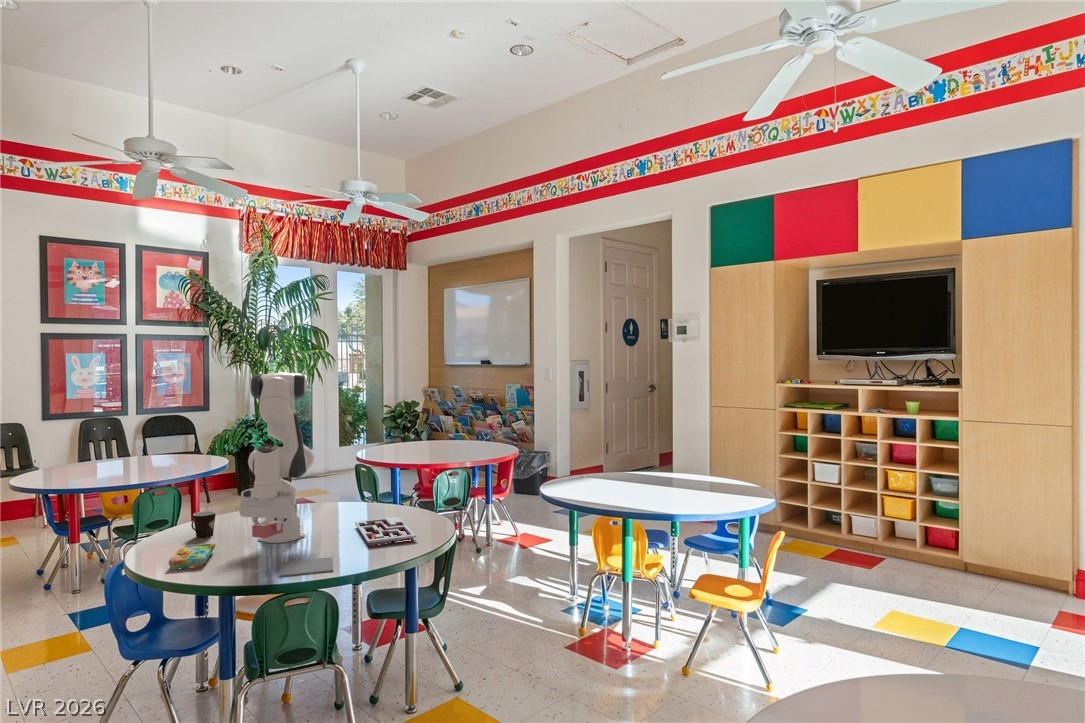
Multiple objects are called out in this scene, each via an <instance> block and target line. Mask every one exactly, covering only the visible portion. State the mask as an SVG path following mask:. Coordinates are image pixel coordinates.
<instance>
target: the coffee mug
mask: <svg viewBox="0 0 1085 723" xmlns="http://www.w3.org/2000/svg"><path fill="white" fill-rule="evenodd" d="M216 514H217V513H216V511H214V510H203V511H199V512H195V513H193V514H192V515H193V520H192V521H191V525H190V526H191V528H192V530H193V531H195V538H196V537H197V538H196V539H199V538H203V539H208V538H207V537H209V538H212V537H214V532H215V531H214V529H215V522H216ZM211 536H212V537H211Z"/></svg>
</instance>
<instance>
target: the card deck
mask: <svg viewBox="0 0 1085 723" xmlns="http://www.w3.org/2000/svg"><path fill="white" fill-rule="evenodd" d="M277 523H278V521H276V520H269V521H266V522H263V521H262V522H259V524H256V525H254V524H253V525H251V534H252V535H251V536H252V538H257V539H258V538H267V537H270V536H273V535H276V534H279V533H282V532H283V522H282V524H281V529H280V530H279V531H277V530H274V529H275V528H274V526H275V525H277Z"/></svg>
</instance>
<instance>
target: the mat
mask: <svg viewBox="0 0 1085 723" xmlns="http://www.w3.org/2000/svg"><path fill="white" fill-rule="evenodd" d="M333 561H334V560H333V557H332V556H329V557H328V556H327V557H319V558H310V559H309V558H307V559H301V560H299V559H298V560H289V561H281V564H280V569H279V573H278V577H279V578H286V577H294V576H295V577H296V576H304V575H305V576H306V575H312V574H323V573H333V572H334V565H333V564H334V562H333Z"/></svg>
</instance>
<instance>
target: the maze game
mask: <svg viewBox="0 0 1085 723" xmlns="http://www.w3.org/2000/svg"><path fill="white" fill-rule="evenodd" d="M354 524H355V527H357V531H358V532H359V531H360V532H361V533H360V532H359V533H360V534H361V535H362V536H363V538H364V539H365V540H366V541H367V542H366V541H365V542H366V544H367V543H368V544H369V545H368V544H367V545H368V547H369V546H370V547H372V546H371V545H378V544H385V543H390V542H392V543H394V542H397V541H403V540H410V539H412V540H413V539H414V538H416V537H417V535H416V534H415V532H413V531H412V530H411V528H409V527H408V525H406V523H404V521H403V520H402V519H401V518H400V517H399V516H393V517H384V518H383V517H382V518H374V519H363V520H355V521H354ZM384 524H386V525H387V526H388V527H386V526H385V525H384ZM379 527H381V528H382V529H383V530H384V531H380V530H379V529H378V528H379ZM400 531H405V532H406V533H407V535H404V536H402V533H401V532H400ZM394 535H397V536H396V537H395V536H394ZM384 536H389V537H387V538H384ZM392 540H394V542H393V541H392ZM378 546H379V545H378Z"/></svg>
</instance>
